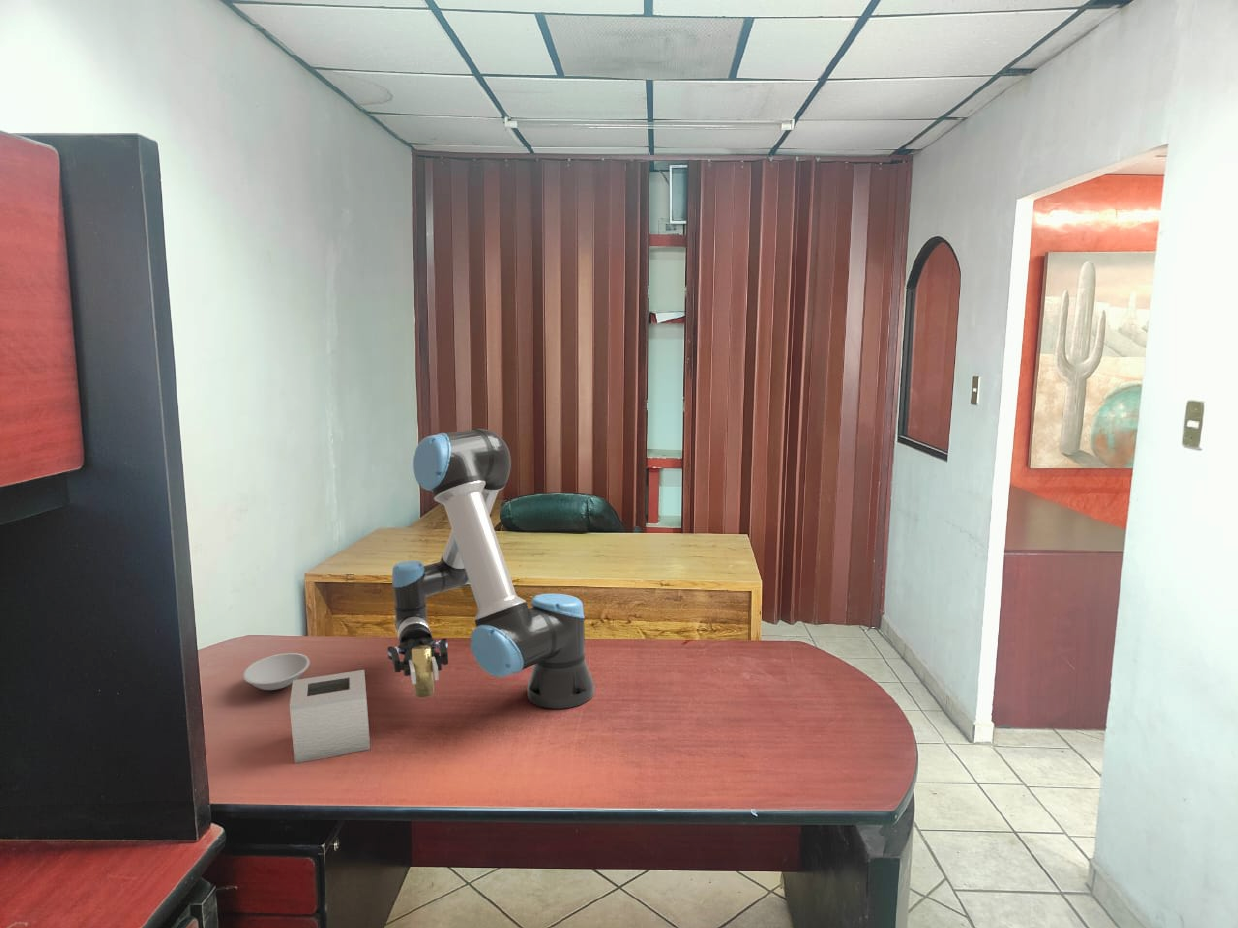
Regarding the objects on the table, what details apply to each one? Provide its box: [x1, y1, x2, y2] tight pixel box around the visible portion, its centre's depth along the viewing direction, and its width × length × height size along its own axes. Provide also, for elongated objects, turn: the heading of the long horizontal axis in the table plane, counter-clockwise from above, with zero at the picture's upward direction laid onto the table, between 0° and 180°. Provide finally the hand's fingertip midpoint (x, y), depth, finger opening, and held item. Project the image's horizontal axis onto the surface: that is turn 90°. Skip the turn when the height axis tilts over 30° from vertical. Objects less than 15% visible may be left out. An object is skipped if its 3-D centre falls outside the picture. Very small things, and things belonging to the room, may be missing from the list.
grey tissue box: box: [289, 669, 371, 764], centre depth 159 cm, size 14×12×12 cm
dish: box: [242, 652, 311, 691], centre depth 186 cm, size 18×14×5 cm
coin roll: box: [412, 645, 435, 698], centre depth 168 cm, size 4×4×10 cm
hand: (425, 675), depth 163 cm, fingers closed on coin roll, 4 cm apart
